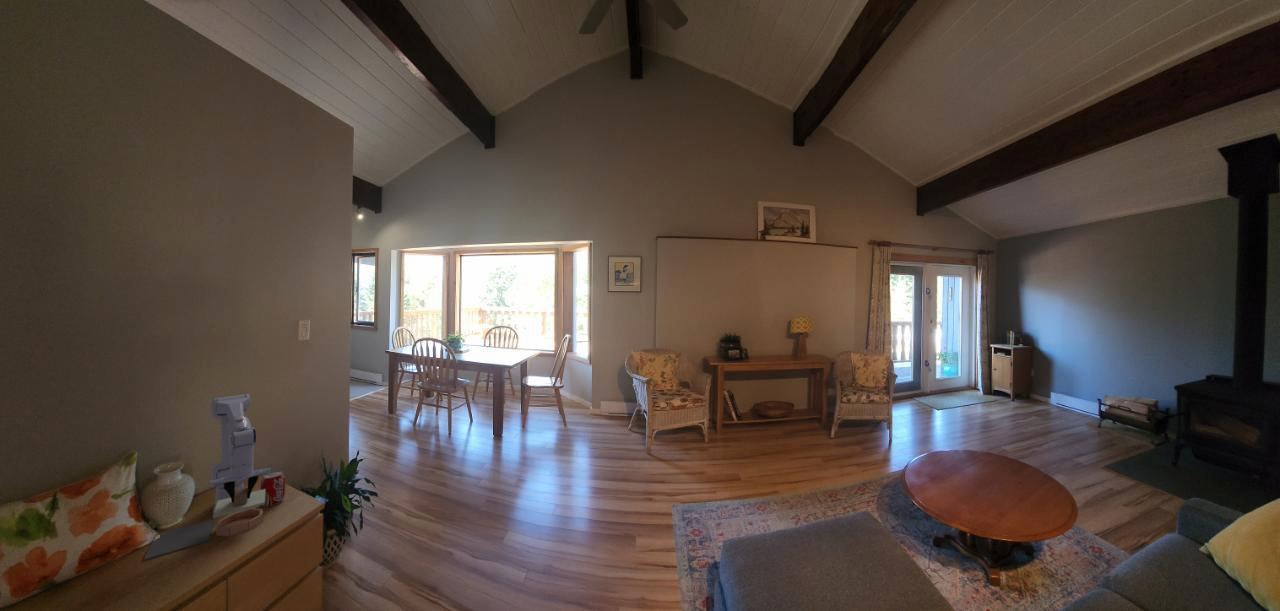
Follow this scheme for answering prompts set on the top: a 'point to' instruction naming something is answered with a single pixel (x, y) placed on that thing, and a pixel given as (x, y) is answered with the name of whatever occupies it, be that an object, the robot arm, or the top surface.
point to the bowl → (239, 522)
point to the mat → (180, 539)
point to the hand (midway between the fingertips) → (241, 499)
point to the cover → (239, 502)
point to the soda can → (273, 488)
